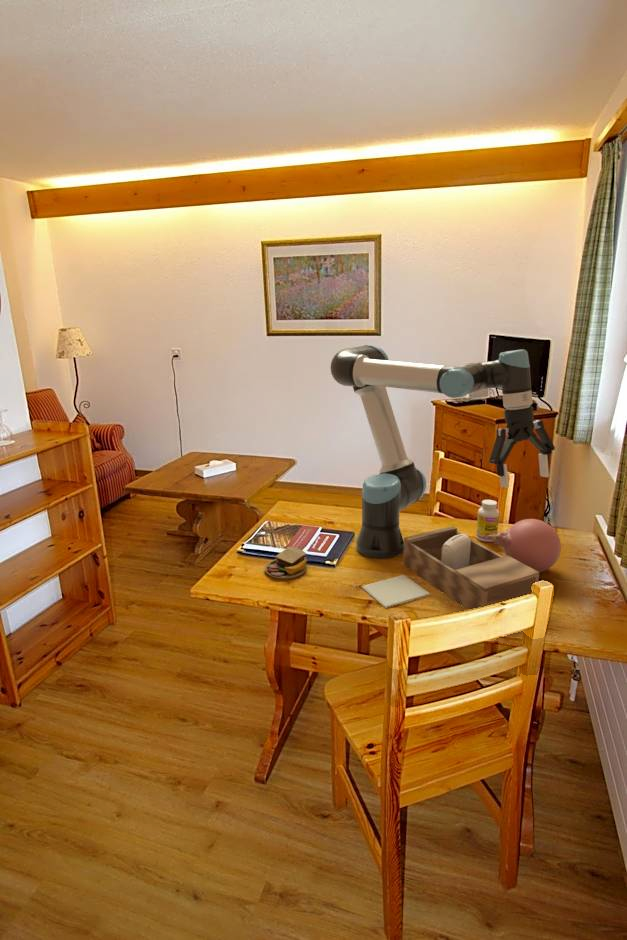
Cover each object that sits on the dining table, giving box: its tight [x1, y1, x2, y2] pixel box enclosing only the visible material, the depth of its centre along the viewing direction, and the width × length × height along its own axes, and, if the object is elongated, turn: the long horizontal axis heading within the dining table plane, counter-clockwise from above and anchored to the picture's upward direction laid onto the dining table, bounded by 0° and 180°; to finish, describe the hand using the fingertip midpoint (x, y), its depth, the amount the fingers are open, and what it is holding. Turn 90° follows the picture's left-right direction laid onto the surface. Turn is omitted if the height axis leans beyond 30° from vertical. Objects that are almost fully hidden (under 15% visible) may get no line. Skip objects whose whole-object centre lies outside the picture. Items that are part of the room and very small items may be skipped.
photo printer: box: [440, 533, 471, 570], centre depth 159 cm, size 10×4×12 cm, turn 133°
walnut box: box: [402, 525, 540, 610], centre depth 156 cm, size 34×18×9 cm, turn 26°
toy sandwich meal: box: [264, 546, 308, 580], centre depth 166 cm, size 12×14×5 cm
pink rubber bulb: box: [488, 518, 562, 573], centre depth 162 cm, size 15×20×15 cm
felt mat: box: [361, 574, 431, 609], centre depth 153 cm, size 12×14×1 cm
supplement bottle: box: [475, 499, 500, 543], centre depth 183 cm, size 7×7×13 cm
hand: (524, 481), depth 158 cm, fingers open, 13 cm apart
